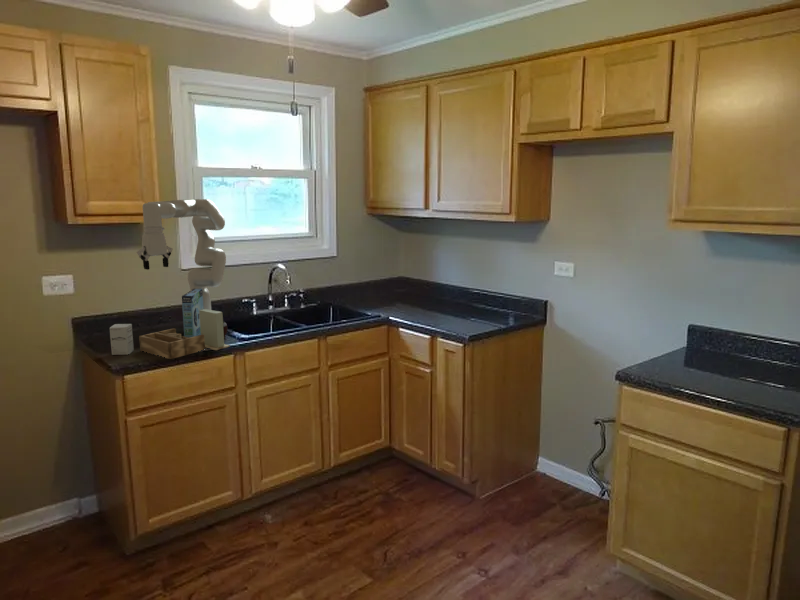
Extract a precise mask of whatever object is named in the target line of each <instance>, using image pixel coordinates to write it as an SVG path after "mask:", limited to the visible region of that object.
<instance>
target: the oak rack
mask: <svg viewBox="0 0 800 600" xmlns="http://www.w3.org/2000/svg"><path fill="white" fill-rule="evenodd" d="M169 333H176V334H177V328H176V327H175V328H170V329H165V330H161V331H156V332H150V333H147V334H143V335H138V340H139V351H140V352H142V351H144V352H143V353H146V352H147V354H149V353H151V354H150V355H153V354H155V355H154V356H157V355H159V356H158V357H160V356H162V357H161V358H164V357H165V359H167V360H168V359H169V360H172V359H177V358H180V357H183V356H187V355H191V354H194V353H198V351H199V352H202V351H201V350H203V351H205V350H206V348H205V339H204V335H198V336H194V337H190V338H188V337H184V335H181V337H182V338H178V337H174V336H170V335H166V334H169ZM204 349H205V350H204Z"/></svg>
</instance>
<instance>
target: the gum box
mask: <svg viewBox="0 0 800 600" xmlns="http://www.w3.org/2000/svg"><path fill="white" fill-rule="evenodd" d="M181 305H182V306H181V308H182V323H183V336H184V337H188V338H190V337H194V336H198V335H201V329H200V314H199V310H204V308H203V292H202V289H192V290H189V291H188V292H186V293H185V294H182V296H181Z"/></svg>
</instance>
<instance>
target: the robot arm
mask: <svg viewBox="0 0 800 600" xmlns="http://www.w3.org/2000/svg"><path fill="white" fill-rule="evenodd" d="M142 216H143V228H144V230H143V231H144V233H143V234H142V239H141V248H140V249H138V250H137V251H136V253H137V256H138V258H139V259H141V261H142V263H143V265H142V266H143V269H144V270H147V271H149V270H150V268H151V267H150V261H149V259H150V257H156V256H161V257H162V267H164V268H169V264H170V263H169V259H170V256H171V255H172V251H173V248H172V247H171V246H169V245H167V240H166V237H165V233H164V230H165V227H163V221H162V219H164V220H165V219H166V220H167V219H172V218H173V219H175V218H176V219H177V218H189V217H192V219H191V223H192V227H193V228H194V230H195V233H196V235H197V244H196V248H195V249H196V250H195V254H194V263H195V264H196V265H197V266H199V267H196V268H195V267H194V268H191V269H190V270H189V271H188V272H187V281H188V285H189V289H190V290H189V291H191V290H192V289H202V292H203V308H204V309H208V310H212V301H211V298H212V297H211V293H210V290H209V289H208V288H218V287H220V286H221V284H222V282H223V279H224V273H225V269H226V264H227V255H226V252H225V250H223V249H221V248H215V245H216V244H215V243H216V240H215V236H214V235H213V234H212V232H211V231H221V230H223V229H224V228H225V226H226V220H225V217H224V215H223V214H222V213H221V211H220V210H219V208H218V207H217V206H216V204H215V203H214V202H213V201H212V200H210V199H207V198H201V199H200V198H197V199H196V198H194V199H193V198H192V199H191V198H190V199H174V200H162V201H161V200H160V201H148V202H145V203H143V204H142ZM206 267H207V268H206ZM208 267H209V268H208ZM210 267H211V268H210Z"/></svg>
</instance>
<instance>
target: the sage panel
mask: <svg viewBox="0 0 800 600" xmlns="http://www.w3.org/2000/svg"><path fill="white" fill-rule="evenodd" d="M199 314H200V329H201V335H204V339H205V345H209V346H213V347H217V348H219V347H222V346H224V344H225V340H224V331H223V322H224V317H223V312H222V311H219V310H213V309H211V310H208V309H204V310H199Z"/></svg>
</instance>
